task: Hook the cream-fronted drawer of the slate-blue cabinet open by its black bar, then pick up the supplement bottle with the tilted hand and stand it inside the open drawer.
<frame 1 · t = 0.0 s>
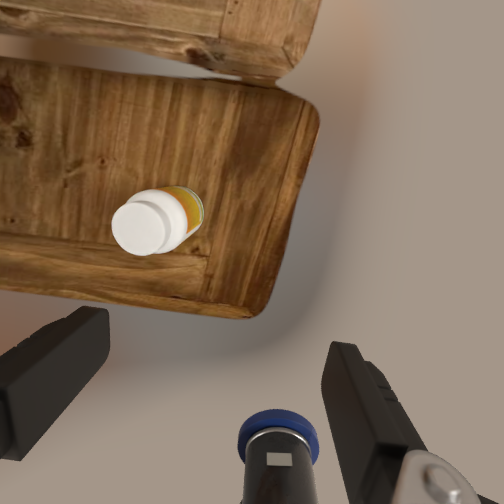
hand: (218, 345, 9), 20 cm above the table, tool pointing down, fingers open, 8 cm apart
supplement bottle: (180, 210, 28), on the table
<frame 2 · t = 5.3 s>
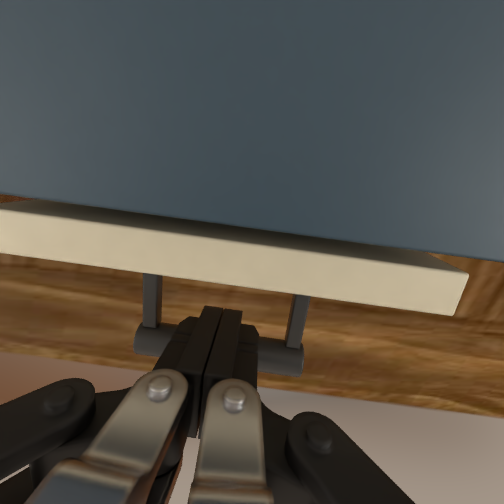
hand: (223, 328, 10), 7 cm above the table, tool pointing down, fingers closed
drawer: (247, 121, 10), point 5 cm above the table, slide at 0.6 cm, touching gripper
cabinet: (266, 36, 13), on the table
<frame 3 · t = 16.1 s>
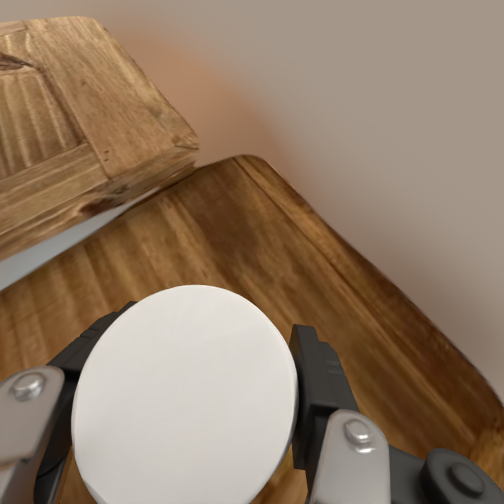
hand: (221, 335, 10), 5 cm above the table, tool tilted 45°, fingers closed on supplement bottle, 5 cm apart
supplement bottle: (218, 387, 13), on the table, touching gripper
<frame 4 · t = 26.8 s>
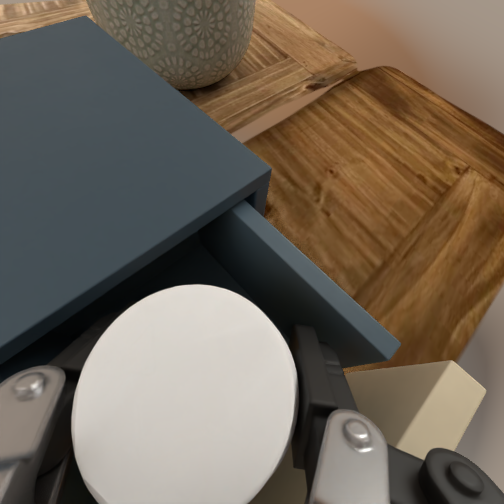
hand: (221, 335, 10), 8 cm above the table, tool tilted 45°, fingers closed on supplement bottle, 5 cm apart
drawer: (234, 409, 11), point 5 cm above the table, slide at 9.0 cm
planter: (185, 67, 32), on the table
supplement bottle: (218, 387, 13), point 3 cm above the table, touching gripper
cabinet: (120, 254, 20), on the table
when the fingers open (8 cm above the table, at t = 30.8 s): supplement bottle drops 2 cm, resting on drawer.
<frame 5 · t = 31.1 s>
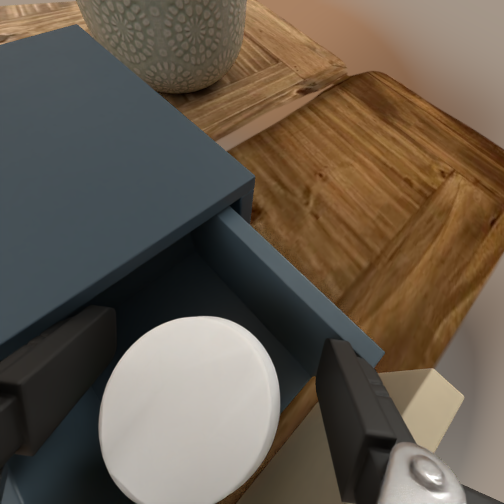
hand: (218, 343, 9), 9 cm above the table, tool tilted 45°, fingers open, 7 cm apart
drawer: (226, 416, 11), point 5 cm above the table, slide at 9.4 cm, touching gripper, supplement bottle
planter: (177, 71, 32), on the table
supplement bottle: (213, 392, 15), point 2 cm above the table, touching drawer
cabinet: (112, 257, 20), on the table
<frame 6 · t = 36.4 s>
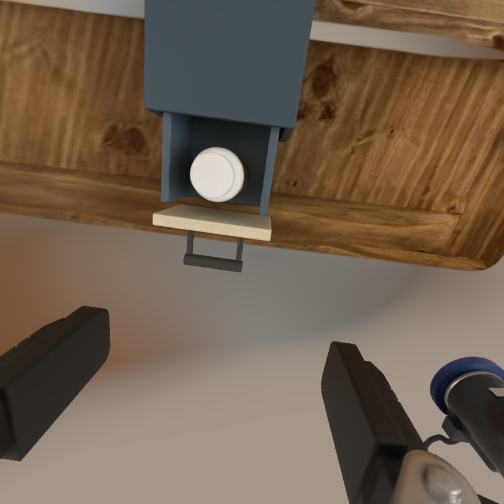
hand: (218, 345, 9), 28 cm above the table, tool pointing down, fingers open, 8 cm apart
drawer: (222, 185, 30), point 5 cm above the table, slide at 9.6 cm, touching supplement bottle
supplement bottle: (227, 174, 33), point 2 cm above the table, touching drawer
cabinet: (240, 64, 31), on the table
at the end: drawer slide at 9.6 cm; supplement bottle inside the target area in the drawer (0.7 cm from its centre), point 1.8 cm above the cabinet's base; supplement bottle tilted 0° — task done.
